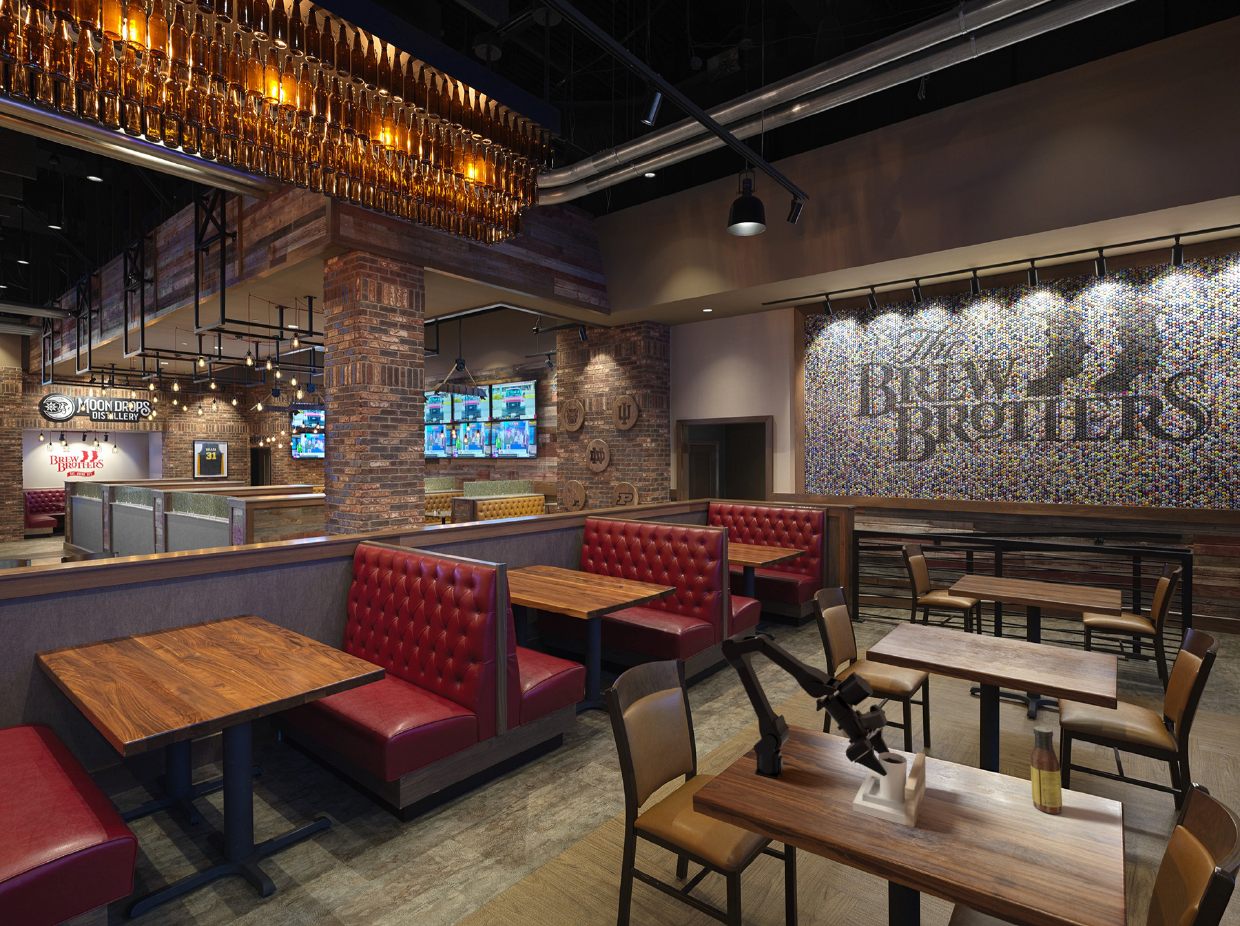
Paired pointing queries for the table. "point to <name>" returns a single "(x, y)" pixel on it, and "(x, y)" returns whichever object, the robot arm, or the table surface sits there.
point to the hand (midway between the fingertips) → (889, 767)
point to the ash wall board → (915, 790)
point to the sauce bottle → (1045, 773)
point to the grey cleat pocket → (878, 801)
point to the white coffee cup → (893, 776)
